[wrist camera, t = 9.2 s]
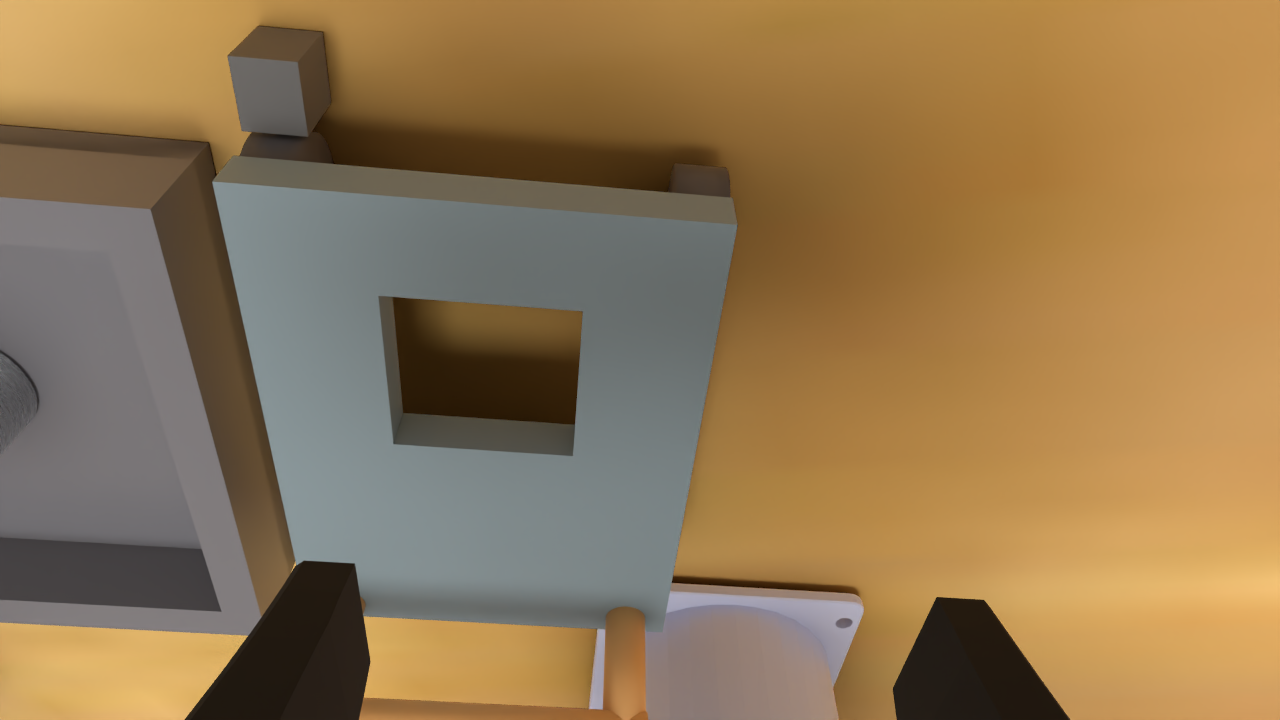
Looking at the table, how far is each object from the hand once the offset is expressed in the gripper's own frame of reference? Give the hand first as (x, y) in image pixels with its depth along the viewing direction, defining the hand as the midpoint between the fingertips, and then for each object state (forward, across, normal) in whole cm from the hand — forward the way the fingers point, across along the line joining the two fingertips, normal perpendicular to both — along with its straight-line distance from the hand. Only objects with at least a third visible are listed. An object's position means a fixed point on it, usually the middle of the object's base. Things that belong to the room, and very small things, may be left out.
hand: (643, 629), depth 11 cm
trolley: (+10, +3, +4) cm, 12 cm away
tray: (+10, +16, +6) cm, 19 cm away
